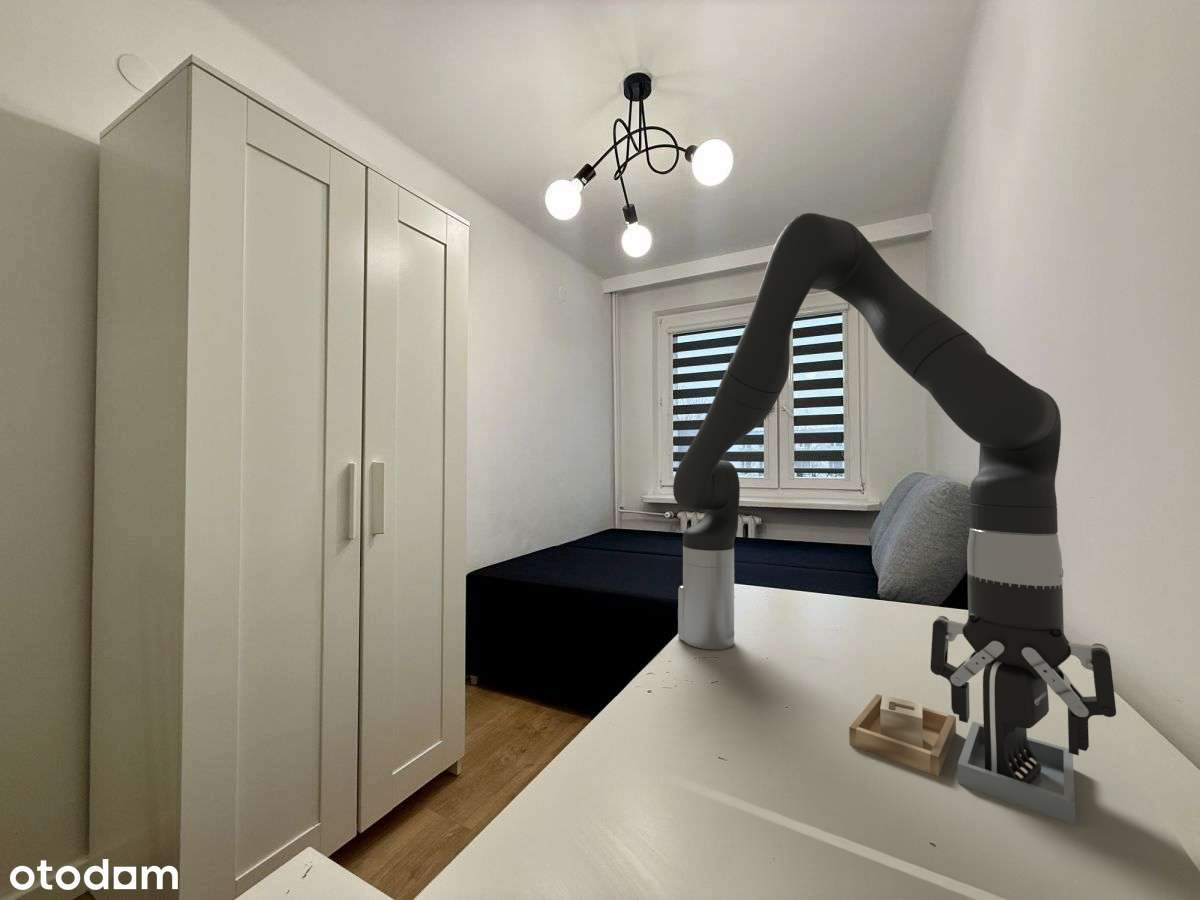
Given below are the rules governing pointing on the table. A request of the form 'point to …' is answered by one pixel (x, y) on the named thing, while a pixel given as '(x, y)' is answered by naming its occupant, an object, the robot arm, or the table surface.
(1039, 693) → the black battery charger
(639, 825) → the table surface
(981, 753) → the slate tray
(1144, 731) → the table surface
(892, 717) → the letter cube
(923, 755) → the oak tray
